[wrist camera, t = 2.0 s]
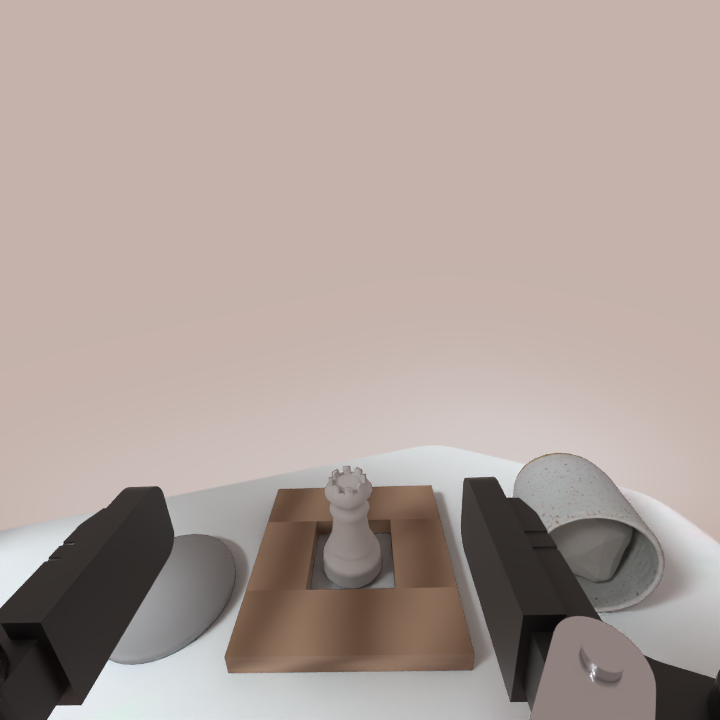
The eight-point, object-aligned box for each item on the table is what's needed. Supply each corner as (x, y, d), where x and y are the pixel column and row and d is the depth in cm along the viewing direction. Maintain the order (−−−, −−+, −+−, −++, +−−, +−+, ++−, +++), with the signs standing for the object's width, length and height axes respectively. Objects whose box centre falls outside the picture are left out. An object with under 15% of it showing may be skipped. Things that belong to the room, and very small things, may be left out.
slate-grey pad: (57, 665, 22) (53, 656, 22) (142, 542, 30) (140, 535, 30) (206, 663, 22) (203, 654, 22) (250, 540, 30) (249, 533, 30)
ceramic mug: (598, 523, 31) (615, 443, 28) (652, 622, 23) (681, 525, 20) (466, 511, 33) (469, 436, 30) (475, 599, 25) (481, 508, 22)
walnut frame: (228, 673, 21) (224, 656, 21) (280, 501, 34) (278, 489, 34) (472, 670, 21) (474, 653, 20) (430, 497, 34) (431, 485, 34)
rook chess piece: (381, 595, 25) (378, 502, 23) (317, 591, 26) (307, 499, 23) (384, 543, 30) (382, 458, 27) (329, 539, 30) (321, 456, 27)
